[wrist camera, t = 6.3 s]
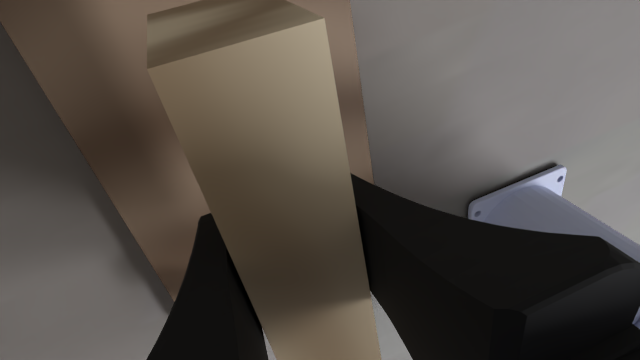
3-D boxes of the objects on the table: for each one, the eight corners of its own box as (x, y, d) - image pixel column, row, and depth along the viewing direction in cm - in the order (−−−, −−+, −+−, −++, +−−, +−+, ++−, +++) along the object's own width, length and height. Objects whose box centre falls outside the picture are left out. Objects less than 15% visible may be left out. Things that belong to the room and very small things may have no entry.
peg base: (373, 238, 25) (403, 278, 22) (190, 314, 23) (196, 370, 20) (303, -243, 13) (349, -298, 10) (-109, -182, 11) (-207, -230, 8)
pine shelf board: (255, -14, 10) (324, 17, 6) (331, 285, 17) (386, 391, 13) (147, 14, 10) (147, 69, 6) (270, 312, 17) (308, 431, 13)
